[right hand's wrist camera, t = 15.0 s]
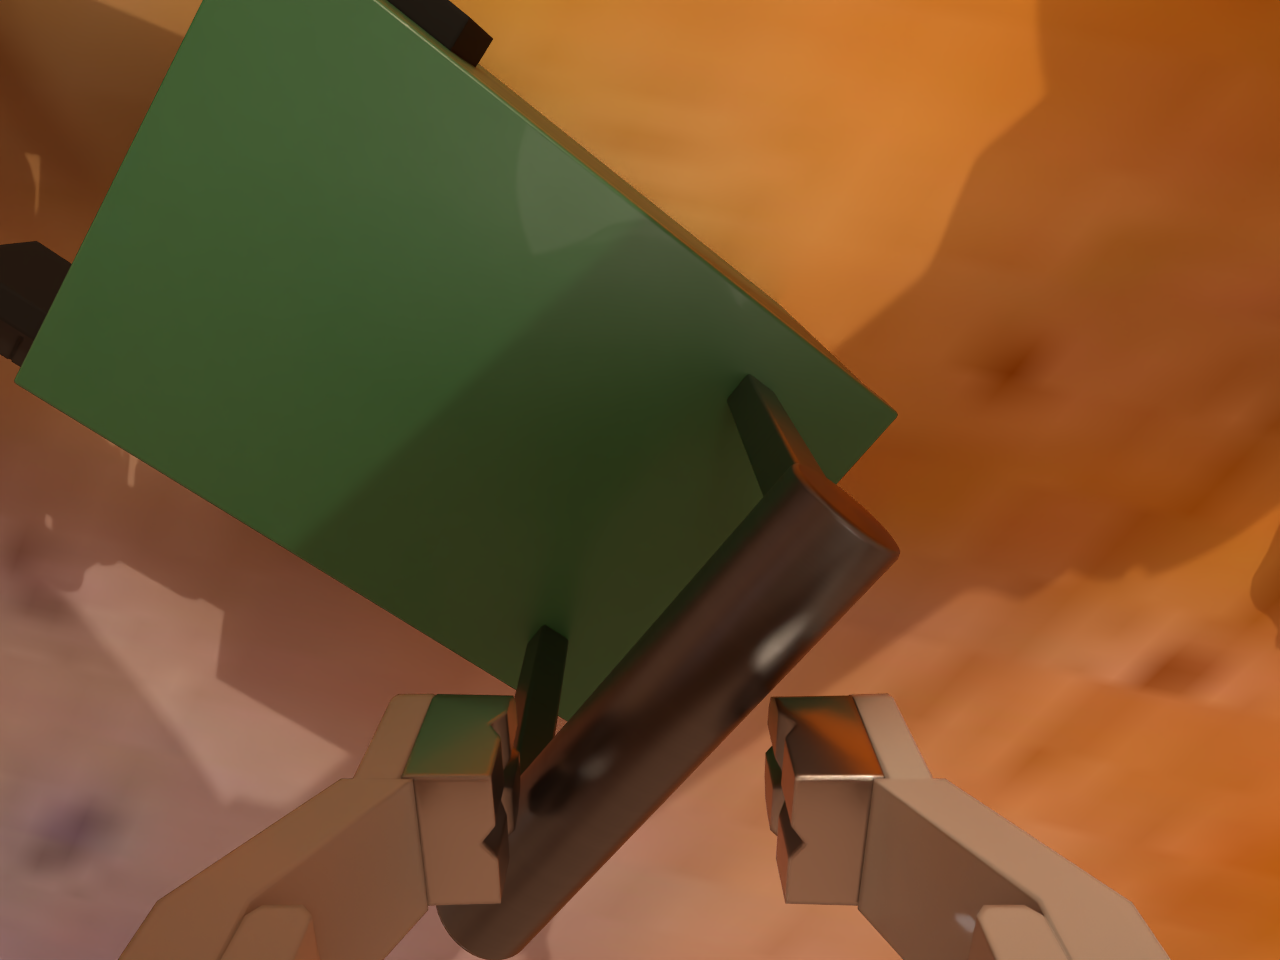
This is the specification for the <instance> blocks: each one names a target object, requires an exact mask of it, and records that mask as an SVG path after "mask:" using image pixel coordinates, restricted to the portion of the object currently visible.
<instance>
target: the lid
mask: <svg viewBox="0 0 1280 960" xmlns="http://www.w3.org/2000/svg"><path fill="white" fill-rule="evenodd" d="M14 382H15V383H16V384H17V385H19V386H20V387H22V388H24V389H25V390H27V391H29V392H30V393H32V394H33V395H35V396H37V397H38V398H40V399H42V400H43V401H45V402H46V403H48V404H50V405H51V406H53V407H55V408H56V409H58V410H60V411H61V412H63V413H64V414H66V415H68V416H69V417H71V418H73V419H74V420H76V421H78V422H79V423H81V424H82V425H84V426H86V427H87V428H89V429H91V430H92V431H94V432H95V433H97V434H99V435H100V436H102V437H104V438H105V439H107V440H109V441H110V442H112V443H113V444H115V445H117V446H118V447H120V448H122V449H123V450H125V451H127V452H128V453H130V454H131V455H133V456H135V457H136V458H138V459H140V460H141V461H143V462H144V463H146V464H148V465H149V466H151V467H153V468H154V469H156V470H158V471H159V472H161V473H162V474H164V475H166V476H167V477H169V478H171V479H172V480H174V481H176V482H177V483H179V484H180V485H182V486H184V487H185V488H187V489H189V490H190V491H192V492H193V493H195V494H197V495H198V496H200V497H202V498H203V499H205V500H207V501H208V502H210V503H211V504H213V505H215V506H216V507H218V508H220V509H221V510H223V511H225V512H226V513H228V514H229V515H231V516H233V517H234V518H236V519H238V520H239V521H241V522H242V523H244V524H246V525H247V526H249V527H251V528H252V529H254V530H256V531H257V532H259V533H260V534H262V535H264V536H265V537H267V538H269V539H270V540H272V541H274V542H275V543H277V544H278V545H280V546H282V547H283V548H285V549H287V550H288V551H290V552H291V553H293V554H295V555H296V556H298V557H300V558H301V559H303V560H305V561H306V562H308V563H309V564H311V565H313V566H314V567H316V568H318V569H319V570H321V571H323V572H324V573H326V574H327V575H329V576H331V577H332V578H334V579H336V580H337V581H339V582H340V583H342V584H344V585H345V586H347V587H349V588H350V589H352V590H354V591H355V592H357V593H358V594H360V595H362V596H363V597H365V598H367V599H368V600H370V601H372V602H373V603H375V604H376V605H378V606H380V607H381V608H383V609H385V610H386V611H388V612H389V613H391V614H393V615H394V616H396V617H398V618H399V619H401V620H403V621H404V622H406V623H407V624H409V625H411V626H412V627H414V628H416V629H417V630H419V631H420V632H422V633H424V634H425V635H427V636H429V637H430V638H432V639H434V640H435V641H437V642H438V643H440V644H442V645H443V646H445V647H447V648H448V649H450V650H452V651H453V652H455V653H456V654H458V655H460V656H461V657H463V658H465V659H466V660H468V661H469V662H471V663H473V664H474V665H476V666H478V667H479V668H481V669H483V670H484V671H486V672H487V673H489V674H491V675H492V676H494V677H496V678H497V679H499V680H501V681H502V682H504V683H505V684H507V685H509V686H510V687H512V688H514V689H515V690H516V694H515V698H514V699H515V701H516V710H517V721H518V725H517V730H516V735H515V739H514V744H513V746H514V747H515V748H516V750H517V751H518V752H519V753H520V797H519V809H518V816H517V822H516V827H515V830H514V831H513V832H512V833H511V834H510V835H509V836H508V840H509V857H510V859H509V864H508V869H507V874H506V879H505V884H504V889H503V894H502V899H501V903H497V904H463V905H436V908H437V911H438V915H439V917H440V919H441V922H442V924H443V925H444V927H445V929H446V930H447V932H448V933H449V935H450V936H451V937H452V938H453V939H454V941H455V942H456V943H457V944H458V945H460V946H461V947H462V948H463V949H465V950H466V951H467V952H469V953H471V954H472V955H475V956H477V957H479V958H483V959H486V960H503V959H507V958H510V957H513V956H514V955H516V954H518V953H519V952H520V951H521V950H522V949H523V948H524V947H525V946H526V945H527V944H528V943H529V942H530V941H531V940H532V939H533V938H534V937H535V936H536V935H537V934H538V933H539V932H540V931H541V929H542V928H543V927H544V926H545V925H546V924H547V923H548V922H549V921H550V920H551V919H552V918H553V917H554V916H555V915H556V914H557V913H558V912H559V911H560V910H561V909H562V908H563V907H564V906H565V905H566V903H567V902H568V901H569V900H570V899H571V898H572V897H573V896H574V895H575V894H576V893H577V892H578V891H579V890H580V889H581V888H582V887H583V886H584V885H585V884H586V883H587V882H588V881H589V880H590V879H591V877H592V876H593V875H594V874H595V873H596V872H597V871H598V870H599V869H600V868H601V867H602V866H603V865H604V864H605V863H606V862H607V861H608V860H609V859H610V858H611V857H612V856H613V855H614V854H615V853H616V851H617V850H618V849H619V848H620V847H621V846H622V845H623V844H624V843H625V842H626V841H627V840H628V839H629V838H630V837H631V836H632V835H633V834H634V833H635V832H636V831H637V830H638V829H639V828H640V827H641V825H642V824H643V823H644V822H645V821H646V820H647V819H648V818H649V817H650V816H651V815H652V814H653V813H654V812H655V811H656V810H657V809H658V808H659V807H660V806H661V805H662V804H663V803H664V802H665V800H666V799H667V798H668V797H669V796H670V795H671V794H672V793H673V792H674V791H675V790H676V789H677V788H678V787H679V786H680V785H681V784H682V783H683V782H684V781H685V780H686V779H687V778H688V777H689V776H690V774H691V773H692V772H693V771H694V770H695V769H696V768H697V767H698V766H699V765H700V764H701V763H702V762H703V761H704V760H705V759H706V758H707V757H708V756H709V755H710V754H711V753H712V752H713V751H714V750H715V748H716V747H717V746H718V745H719V744H720V743H721V742H722V741H723V740H724V739H725V738H726V737H727V736H728V735H729V734H730V733H731V732H732V731H733V730H734V729H735V728H736V727H737V726H738V725H739V724H740V722H741V721H742V720H743V719H744V718H745V717H746V716H747V715H748V714H749V713H750V712H751V711H752V710H753V709H754V708H755V707H756V706H757V705H758V704H759V703H760V702H761V701H762V700H763V699H764V698H765V696H766V695H767V694H768V693H769V692H770V691H771V690H772V689H773V688H774V687H775V686H776V685H777V684H778V683H779V682H780V681H781V680H782V679H783V678H784V677H785V676H786V675H787V674H788V673H789V671H790V670H791V669H792V668H793V667H794V666H795V665H796V664H797V663H798V662H799V661H800V660H801V659H802V658H803V657H804V656H805V655H806V654H807V653H808V652H809V651H810V650H811V649H812V648H813V647H814V645H815V644H816V643H817V642H818V641H819V640H820V639H821V638H822V637H823V636H824V635H825V634H826V633H827V632H828V631H829V630H830V629H831V628H832V627H833V626H834V625H835V624H836V623H837V622H838V621H839V619H840V618H841V617H842V616H843V615H844V614H845V613H846V612H847V611H848V610H849V609H850V608H851V607H852V606H853V605H854V604H855V603H856V602H857V601H858V600H859V599H860V598H861V597H862V596H863V595H864V593H865V592H866V591H867V590H868V589H869V588H870V587H871V586H872V585H873V584H874V583H875V582H876V581H877V580H878V579H879V578H880V577H881V576H882V575H883V574H884V573H885V572H886V571H887V570H888V569H889V567H890V566H891V565H892V564H893V563H894V562H895V561H896V560H897V559H898V557H899V554H900V550H899V548H898V546H897V544H896V542H895V541H894V539H893V538H892V537H891V535H890V534H889V533H888V532H887V531H886V529H885V528H884V527H883V526H882V525H881V524H880V523H879V522H878V521H877V520H876V519H875V518H874V517H873V516H872V515H871V514H870V513H869V512H868V511H867V510H866V509H864V508H863V507H862V506H861V505H860V504H859V503H858V502H857V501H855V500H854V499H853V498H852V497H851V496H850V495H848V494H847V493H846V492H845V491H843V490H842V489H841V488H840V487H838V486H837V485H836V484H837V483H838V482H839V481H840V480H841V479H842V477H843V476H844V475H845V474H846V473H847V472H848V471H849V470H850V469H851V467H852V466H853V465H854V464H855V463H856V462H857V461H858V460H859V459H860V457H861V456H862V455H863V454H864V453H865V452H866V451H867V450H868V449H869V447H870V446H871V445H872V444H873V443H874V442H875V441H876V440H877V439H878V437H879V436H880V435H881V434H882V433H883V432H884V431H885V430H886V429H887V427H888V426H889V425H890V424H891V423H892V422H893V421H894V420H895V419H896V417H897V415H898V414H897V412H896V411H895V410H894V409H893V408H892V407H891V406H890V405H888V404H887V403H886V402H885V401H884V400H883V399H882V398H880V397H879V396H878V395H877V394H875V393H874V392H873V391H872V390H870V389H869V388H868V387H866V386H865V385H864V384H863V383H861V382H860V381H859V380H858V379H856V378H855V377H854V376H853V375H851V374H850V373H849V372H848V371H846V370H845V369H844V368H843V367H841V366H840V365H839V364H838V363H836V362H835V361H834V360H833V359H831V358H830V357H829V356H828V355H826V354H825V353H824V352H823V351H821V350H820V349H819V348H818V347H816V346H815V345H814V344H813V343H811V342H810V341H809V340H807V339H806V338H805V337H804V336H802V335H801V334H800V333H799V332H797V331H796V330H795V329H794V328H792V327H791V326H790V325H789V324H787V323H786V322H785V321H784V320H782V319H781V318H780V317H779V316H777V315H776V314H775V313H774V312H772V311H771V310H770V309H769V308H767V307H766V306H765V305H764V304H762V303H761V302H760V301H759V300H757V299H756V298H755V297H754V296H752V295H751V294H750V293H748V292H747V291H746V290H745V289H743V288H742V287H741V286H740V285H738V284H737V283H736V282H735V281H733V280H732V279H731V278H730V277H728V276H727V275H726V274H725V273H723V272H722V271H721V270H720V269H718V268H717V267H716V266H715V265H713V264H712V263H711V262H710V261H708V260H707V259H706V258H705V257H703V256H702V255H701V254H700V253H698V252H697V251H696V250H695V249H693V248H692V247H691V246H690V245H688V244H687V243H686V242H684V241H683V240H682V239H681V238H679V237H678V236H677V235H676V234H674V233H673V232H672V231H671V230H669V229H668V228H667V227H666V226H664V225H663V224H662V223H661V222H659V221H658V220H657V219H656V218H654V217H653V216H652V215H651V214H649V213H648V212H647V211H646V210H644V209H643V208H642V207H641V206H639V205H638V204H637V203H636V202H634V201H633V200H632V199H631V198H629V197H628V196H627V195H625V194H624V193H623V192H622V191H620V190H619V189H618V188H617V187H615V186H614V185H613V184H612V183H610V182H609V181H608V180H607V179H605V178H604V177H603V176H602V175H600V174H599V173H598V172H597V171H595V170H594V169H593V168H592V167H590V166H589V165H588V164H587V163H585V162H584V161H583V160H582V159H580V158H579V157H578V156H577V155H575V154H574V153H573V152H572V151H570V150H569V149H568V148H566V147H565V146H564V145H563V144H561V143H560V142H559V141H558V140H556V139H555V138H554V137H553V136H551V135H550V134H549V133H548V132H546V131H545V130H544V129H543V128H541V127H540V126H539V125H538V124H536V123H535V122H534V121H533V120H531V119H530V118H529V117H528V116H526V115H525V114H524V113H523V112H521V111H520V110H519V109H518V108H516V107H515V106H514V105H513V104H511V103H510V102H509V101H507V100H506V99H505V98H504V97H502V96H501V95H500V94H499V93H497V92H496V91H495V90H494V89H492V88H491V87H490V86H489V85H487V84H486V83H485V82H484V81H482V80H481V79H480V78H479V77H477V76H476V75H475V74H474V73H472V72H471V71H470V70H469V69H467V68H466V67H465V66H464V65H462V64H461V63H460V62H459V61H457V60H456V59H455V58H454V57H452V56H451V55H450V54H448V53H447V52H446V51H445V50H443V49H442V48H441V47H440V46H438V45H437V44H436V43H435V42H433V41H432V40H431V39H430V38H428V37H427V36H426V35H425V34H423V33H422V32H421V31H420V30H418V29H417V28H416V27H415V26H413V25H412V24H411V23H410V22H408V21H407V20H406V19H405V18H403V17H402V16H401V15H400V14H398V13H397V12H396V11H395V10H393V9H392V8H391V7H389V6H388V5H387V4H386V3H384V2H383V1H382V0H203V1H202V3H201V5H200V7H199V9H198V11H197V13H196V15H195V17H194V19H193V21H192V23H191V25H190V27H189V29H188V31H187V33H186V35H185V37H184V39H183V41H182V43H181V45H180V47H179V49H178V52H177V54H176V56H175V58H174V60H173V62H172V64H171V66H170V68H169V70H168V72H167V74H166V76H165V78H164V80H163V82H162V84H161V86H160V88H159V90H158V92H157V94H156V96H155V98H154V100H153V102H152V104H151V106H150V108H149V110H148V112H147V114H146V116H145V118H144V120H143V122H142V124H141V126H140V128H139V130H138V132H137V134H136V136H135V138H134V140H133V142H132V144H131V146H130V148H129V150H128V152H127V154H126V156H125V158H124V160H123V162H122V164H121V166H120V168H119V170H118V172H117V174H116V176H115V178H114V180H113V182H112V184H111V186H110V188H109V190H108V192H107V194H106V196H105V199H104V201H103V203H102V205H101V207H100V209H99V211H98V213H97V215H96V217H95V219H94V221H93V223H92V225H91V227H90V229H89V231H88V233H87V235H86V237H85V239H84V241H83V243H82V245H81V247H80V249H79V251H78V253H77V255H76V257H75V259H74V261H73V263H72V265H71V267H70V269H69V271H68V273H67V275H66V277H65V279H64V281H63V283H62V285H61V287H60V289H59V291H58V293H57V295H56V297H55V299H54V301H53V303H52V305H51V307H50V309H49V311H48V313H47V315H46V317H45V319H44V321H43V323H42V325H41V327H40V329H39V331H38V333H37V335H36V337H35V339H34V341H33V343H32V346H31V348H30V350H29V352H28V354H27V356H26V358H25V360H24V362H23V364H22V366H21V368H20V370H19V372H18V374H17V376H16V378H15V380H14ZM558 716H559V717H561V718H563V719H564V720H566V721H567V723H566V724H565V725H564V726H563V728H562V729H561V730H560V731H559V732H558V733H557V735H556V736H555V731H556V724H557V718H558Z"/></svg>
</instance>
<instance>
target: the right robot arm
mask: <svg viewBox="0 0 1280 960" xmlns="http://www.w3.org/2000/svg"><path fill="white" fill-rule="evenodd" d="M517 725H518V721H517V710H516V701H515V699H514V696H501V695H454V694H437V695H434V694H398V695H396V696H395V697H393V698H392V699H391V700H390V702H389V704H388V707H387V709H386V711H385V713H384V715H383V717H382V719H381V721H380V723H379V725H378V727H377V729H376V732H375V734H374V736H373V738H372V740H371V742H370V744H369V746H368V748H367V750H366V752H365V754H364V757H363V759H362V761H361V763H360V765H359V767H358V769H357V771H356V773H355V775H354V777H353V779H340V780H339V781H337V782H336V783H334V784H333V785H331V786H330V787H328V788H327V789H325V790H324V791H322V792H320V793H319V794H317V795H316V796H314V797H313V798H311V799H310V800H308V801H307V802H305V803H304V804H302V805H301V806H299V807H298V808H296V809H295V810H293V811H292V812H290V813H289V814H287V815H286V816H284V817H283V818H281V819H280V820H278V821H277V822H275V823H274V824H272V825H271V826H269V827H268V828H266V829H265V830H263V831H262V832H260V833H259V834H257V835H256V836H254V837H253V838H251V839H250V840H248V841H247V842H245V843H244V844H242V845H241V846H239V847H238V848H236V849H235V850H233V851H232V852H230V853H229V854H227V855H226V856H224V857H223V858H221V859H220V860H218V861H217V862H215V863H214V864H212V865H211V866H209V867H208V868H206V869H205V870H203V871H202V872H200V873H199V874H197V875H196V876H194V877H193V878H191V879H190V880H188V881H187V882H185V883H184V884H182V885H181V886H179V887H178V888H176V889H175V890H173V891H172V892H170V893H169V894H167V895H166V896H164V897H163V898H161V899H160V900H158V901H157V902H156V904H155V905H154V907H153V908H152V910H151V911H150V913H149V914H148V916H147V917H146V919H145V920H144V922H143V923H142V924H141V926H140V927H139V929H138V930H137V932H136V933H135V935H134V936H133V938H132V939H131V941H130V942H129V944H128V945H127V947H126V948H125V950H124V951H123V953H122V954H121V956H120V957H119V959H118V960H383V959H384V958H385V957H386V956H387V955H388V954H389V953H390V952H391V951H392V949H393V948H394V947H395V946H396V945H397V944H398V943H399V942H400V941H401V939H402V938H403V937H404V936H405V935H406V934H407V933H408V932H409V931H410V929H411V928H412V927H413V926H414V925H415V924H416V923H417V922H418V921H419V919H420V918H421V917H422V916H423V915H424V914H425V913H426V912H427V911H428V906H429V905H463V904H497V903H501V899H502V894H503V889H504V884H505V879H506V874H507V869H508V864H509V859H510V857H509V840H508V836H509V835H510V834H511V833H512V832H513V831H514V830H515V827H516V822H517V816H518V809H519V797H520V753H519V752H518V751H517V750H516V748H515V747H514V746H513V744H514V739H515V735H516V730H517ZM768 728H769V733H770V738H771V742H772V746H771V748H770V749H769V750H768V751H767V752H766V755H765V799H766V807H767V815H768V820H769V826H770V830H771V831H772V832H773V833H774V834H775V835H777V850H776V861H777V866H778V870H779V875H780V880H781V885H782V890H783V894H784V899H785V903H786V904H821V905H856V906H858V910H859V911H860V912H861V913H862V914H863V915H864V917H865V918H866V919H867V920H868V921H869V922H870V923H871V924H872V925H873V927H874V928H875V929H876V930H877V931H878V932H879V933H880V934H881V935H882V936H883V938H884V939H885V940H886V941H887V942H888V943H889V944H890V945H891V946H892V948H893V949H894V950H895V951H896V952H897V953H898V954H899V955H900V956H901V957H902V959H903V960H1171V959H1170V958H1169V956H1168V955H1167V953H1166V952H1165V950H1164V949H1163V947H1162V946H1161V944H1160V943H1159V941H1158V940H1157V939H1156V937H1155V936H1154V934H1153V933H1152V931H1151V930H1150V928H1149V927H1148V925H1147V924H1146V922H1145V921H1144V919H1143V918H1142V916H1141V915H1140V913H1139V912H1138V910H1137V909H1136V907H1135V906H1134V904H1133V903H1132V902H1131V901H1129V900H1128V899H1126V898H1125V897H1123V896H1122V895H1120V894H1119V893H1117V892H1116V891H1114V890H1112V889H1111V888H1109V887H1108V886H1106V885H1105V884H1103V883H1102V882H1100V881H1099V880H1097V879H1096V878H1094V877H1093V876H1091V875H1090V874H1088V873H1087V872H1085V871H1084V870H1082V869H1081V868H1079V867H1078V866H1076V865H1075V864H1073V863H1072V862H1070V861H1069V860H1067V859H1066V858H1064V857H1063V856H1061V855H1060V854H1058V853H1057V852H1055V851H1054V850H1052V849H1051V848H1049V847H1048V846H1046V845H1045V844H1043V843H1042V842H1040V841H1039V840H1037V839H1035V838H1034V837H1032V836H1031V835H1029V834H1028V833H1026V832H1025V831H1023V830H1022V829H1020V828H1019V827H1017V826H1016V825H1014V824H1013V823H1011V822H1010V821H1008V820H1007V819H1005V818H1004V817H1002V816H1001V815H999V814H998V813H996V812H995V811H993V810H992V809H990V808H989V807H987V806H986V805H984V804H983V803H981V802H980V801H978V800H977V799H975V798H974V797H972V796H971V795H969V794H968V793H966V792H965V791H963V790H961V789H960V788H958V787H957V786H955V785H954V784H952V783H951V782H949V781H948V780H946V779H933V777H932V775H931V773H930V771H929V769H928V767H927V765H926V763H925V761H924V759H923V757H922V755H921V753H920V750H919V748H918V746H917V744H916V742H915V740H914V738H913V736H912V734H911V732H910V730H909V728H908V726H907V724H906V722H905V720H904V718H903V716H902V714H901V712H900V710H899V708H898V706H897V704H896V702H895V700H894V698H893V697H892V696H890V695H889V694H887V693H886V694H856V695H849V696H787V697H771V699H770V704H769V711H768Z"/></svg>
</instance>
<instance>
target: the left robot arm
mask: <svg viewBox="0 0 1280 960" xmlns="http://www.w3.org/2000/svg"><path fill="white" fill-rule="evenodd" d="M387 1H388V2H389V3H391V4H392V5H393V6H394V7H396V8H397V9H398V10H399V11H401V12H402V13H403V14H404V15H406V16H407V17H408V18H410V19H411V20H412V21H413V22H415V23H416V24H417V25H418V26H420V27H421V28H422V29H423V30H425V31H426V32H427V33H428V34H430V35H431V36H432V37H433V38H435V39H436V40H437V41H438V42H440V43H441V44H442V45H443V46H445V47H446V48H447V49H448V50H450V51H451V52H453V53H454V54H456V55H457V56H459V57H460V58H462V59H464V60H465V61H467V62H468V63H470V64H471V65H473V66H474V67H476V66H477V64H478V63H479V61H480V60H481V58H482V56H483V55H484V53H485V51H486V50H487V48H488V47H489V45H490V43H491V42H492V40H493V38H492V37H491V36H490V35H488V34H487V33H486V32H485V31H484V30H483V29H482V28H481V27H480V26H479V25H477V24H476V23H475V22H474V21H473V20H472V19H471V18H470V17H469V16H467V15H466V14H465V13H464V12H462V11H461V10H460V9H459V8H458V7H456V6H455V5H454V4H453V3H451V2H450V1H449V0H387ZM71 265H72V264H71V263H69V262H68V261H66V260H65V259H63V258H62V257H60V256H59V255H57V254H56V253H54V252H53V251H51V250H50V249H48V248H47V247H45V246H43V245H42V244H40V243H39V242H37V241H32V242H23V243H14V244H5V245H0V354H1V355H2V356H4V357H5V358H7V359H11V360H12V362H13V363H15V364H17V365H18V366H20V367H21V366H22V364H23V362H24V360H25V358H26V356H27V354H28V352H29V350H30V348H31V346H32V343H33V341H34V339H35V337H36V335H37V333H38V331H39V329H40V327H41V325H42V323H43V321H44V319H45V317H46V315H47V313H48V311H49V309H50V307H51V305H52V303H53V301H54V299H55V297H56V295H57V293H58V291H59V289H60V287H61V285H62V283H63V281H64V279H65V277H66V275H67V273H68V271H69V269H70V267H71Z"/></svg>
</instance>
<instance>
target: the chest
mask: <svg viewBox="0 0 1280 960" xmlns="http://www.w3.org/2000/svg"><path fill="white" fill-rule="evenodd" d="M382 1H383V2H384V3H386V4H387V5H388V6H389V7H391V8H392V9H393V10H395V11H396V12H397V13H398V14H400V15H401V16H402V17H403V18H405V19H406V20H407V21H408V22H410V23H411V24H412V25H413V26H415V27H416V28H417V29H418V30H420V31H421V32H422V33H423V34H425V35H426V36H427V37H428V38H430V39H431V40H432V41H433V42H435V43H436V44H437V45H438V46H440V47H441V48H442V49H443V50H445V51H446V52H447V53H448V54H450V55H451V56H452V57H454V58H455V59H456V60H457V61H459V62H460V63H461V64H462V65H464V66H465V67H466V68H467V69H469V70H470V71H471V72H472V73H474V74H475V75H476V76H477V77H479V78H480V79H481V80H482V81H484V82H485V83H486V84H487V85H489V86H490V87H491V88H492V89H494V90H495V91H496V92H497V93H499V94H500V95H501V96H502V97H504V98H505V99H506V100H507V101H509V102H510V103H511V104H513V105H514V106H515V107H516V108H518V109H519V110H520V111H521V112H523V113H524V114H525V115H526V116H528V117H529V118H530V119H531V120H533V121H534V122H535V123H536V124H538V125H539V126H540V127H541V128H543V129H544V130H545V131H546V132H548V133H549V134H550V135H551V136H553V137H554V138H555V139H556V140H558V141H559V142H560V143H561V144H563V145H564V146H565V147H566V148H568V149H569V150H570V151H572V152H573V153H574V154H575V155H577V156H578V157H579V158H580V159H582V160H583V161H584V162H585V163H587V164H588V165H589V166H590V167H592V168H593V169H594V170H595V171H597V172H598V173H599V174H600V175H602V176H603V177H604V178H605V179H607V180H608V181H609V182H610V183H612V184H613V185H614V186H615V187H617V188H618V189H619V190H620V191H622V192H623V193H624V194H625V195H627V196H628V197H629V198H631V199H632V200H633V201H634V202H636V203H637V204H638V205H639V206H641V207H642V208H643V209H644V210H646V211H647V212H648V213H649V214H651V215H652V216H653V217H654V218H656V219H657V220H658V221H659V222H661V223H662V224H663V225H664V226H666V227H667V228H668V229H669V230H671V231H672V232H673V233H674V234H676V235H677V236H678V237H679V238H681V239H682V240H683V241H684V242H686V243H687V244H688V245H690V246H691V247H692V248H693V249H695V250H696V251H697V252H698V253H700V254H701V255H702V256H703V257H705V258H706V259H707V260H708V261H710V262H711V263H712V264H713V265H715V266H716V267H717V268H718V269H720V270H721V271H722V272H723V273H725V274H726V275H727V276H728V277H730V278H731V279H732V280H733V281H735V282H736V283H737V284H738V285H740V286H741V287H742V288H743V289H745V290H746V291H747V292H748V293H750V294H751V295H752V296H754V297H755V298H756V299H757V300H759V301H760V302H761V303H762V304H764V305H765V306H766V307H767V308H769V309H770V310H771V311H772V312H774V313H775V314H776V315H777V316H779V317H780V318H781V319H782V320H784V321H785V322H786V323H787V324H789V325H790V326H791V327H792V328H794V329H795V330H796V331H797V332H799V333H800V334H801V335H802V336H804V337H805V338H806V339H807V340H809V341H810V342H811V343H813V344H814V345H815V346H816V347H818V348H819V349H820V350H821V351H823V352H824V353H825V354H826V355H828V356H829V357H830V358H831V359H833V360H834V361H835V362H836V363H838V364H839V365H840V366H841V367H843V368H844V369H845V370H846V371H848V372H849V373H850V374H851V375H853V374H852V373H851V372H850V371H849V370H848V369H847V368H846V367H845V366H844V365H843V364H842V363H840V362H839V361H838V360H837V359H836V358H835V357H834V356H833V355H832V354H831V353H830V352H829V351H828V350H827V349H826V348H825V347H824V346H823V345H821V344H820V343H819V342H818V341H817V340H816V339H815V338H814V337H813V336H812V335H811V334H810V333H809V332H808V331H807V330H806V329H805V328H804V327H802V326H801V325H800V324H799V323H798V322H797V321H796V320H795V319H794V318H793V317H792V316H791V315H790V314H789V313H788V312H787V311H786V310H784V309H783V308H782V307H781V306H780V305H779V304H778V303H777V302H775V301H774V300H773V299H772V298H770V297H769V296H768V295H767V294H765V293H764V292H763V291H762V290H760V289H759V288H758V287H757V286H755V285H754V284H753V283H752V282H750V281H749V280H748V279H747V278H745V277H744V276H743V275H742V274H740V273H739V272H738V271H737V270H735V269H734V268H733V267H732V266H730V265H729V264H728V263H727V262H725V261H724V260H723V259H722V258H720V257H719V256H718V255H717V254H715V253H714V252H713V251H712V250H710V249H709V248H708V247H707V246H705V245H704V244H703V243H702V242H700V241H699V240H698V239H697V238H695V237H694V236H693V235H692V234H690V233H689V232H688V231H687V230H685V229H684V228H683V227H682V226H680V225H679V224H678V223H677V222H675V221H674V220H673V219H672V218H670V217H669V216H668V215H667V214H665V213H664V212H663V211H662V210H660V209H659V208H658V207H657V206H655V205H654V204H653V203H652V202H650V201H649V200H648V199H647V198H645V197H644V196H643V195H642V194H641V193H639V192H638V191H637V190H636V189H634V188H633V187H632V186H631V185H629V184H628V183H627V182H626V181H624V180H623V179H622V178H621V177H619V176H618V175H617V174H616V173H614V172H613V171H612V170H611V169H609V168H608V167H607V166H606V165H604V164H603V163H602V162H601V161H599V160H598V159H597V158H596V157H594V156H593V155H592V154H591V153H589V152H588V151H587V150H586V149H584V148H583V147H582V146H581V145H579V144H578V143H577V142H576V141H574V140H573V139H572V138H571V137H569V136H568V135H567V134H566V133H564V132H563V131H562V130H561V129H559V128H558V127H557V126H556V125H554V124H553V123H552V122H551V121H549V120H548V119H547V118H546V117H544V116H543V115H542V114H541V113H539V112H538V111H537V110H536V109H534V108H533V107H532V106H531V105H529V104H528V103H527V102H526V101H524V100H523V99H522V98H521V97H519V96H518V95H517V94H516V93H514V92H513V91H512V90H511V89H509V88H508V87H507V86H506V85H504V84H503V83H502V82H501V81H499V80H498V79H497V78H496V77H494V76H493V75H492V74H491V73H489V72H488V71H487V70H486V69H484V68H483V67H482V66H481V65H479V64H477V66H476V67H474V66H473V65H471V64H470V63H468V62H467V61H465V60H464V59H462V58H460V57H459V56H457V55H456V54H454V53H453V52H451V51H450V50H448V49H447V48H446V47H445V46H443V45H442V44H441V43H440V42H438V41H437V40H436V39H435V38H433V37H432V36H431V35H430V34H428V33H427V32H426V31H425V30H423V29H422V28H421V27H420V26H418V25H417V24H416V23H415V22H413V21H412V20H411V19H410V18H408V17H407V16H406V15H404V14H403V13H402V12H401V11H399V10H398V9H397V8H396V7H394V6H393V5H392V4H391V3H389V2H388V1H387V0H382ZM853 376H854V375H853ZM854 377H855V376H854ZM855 378H856V377H855ZM856 379H857V378H856ZM859 381H860V380H859Z"/></svg>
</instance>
